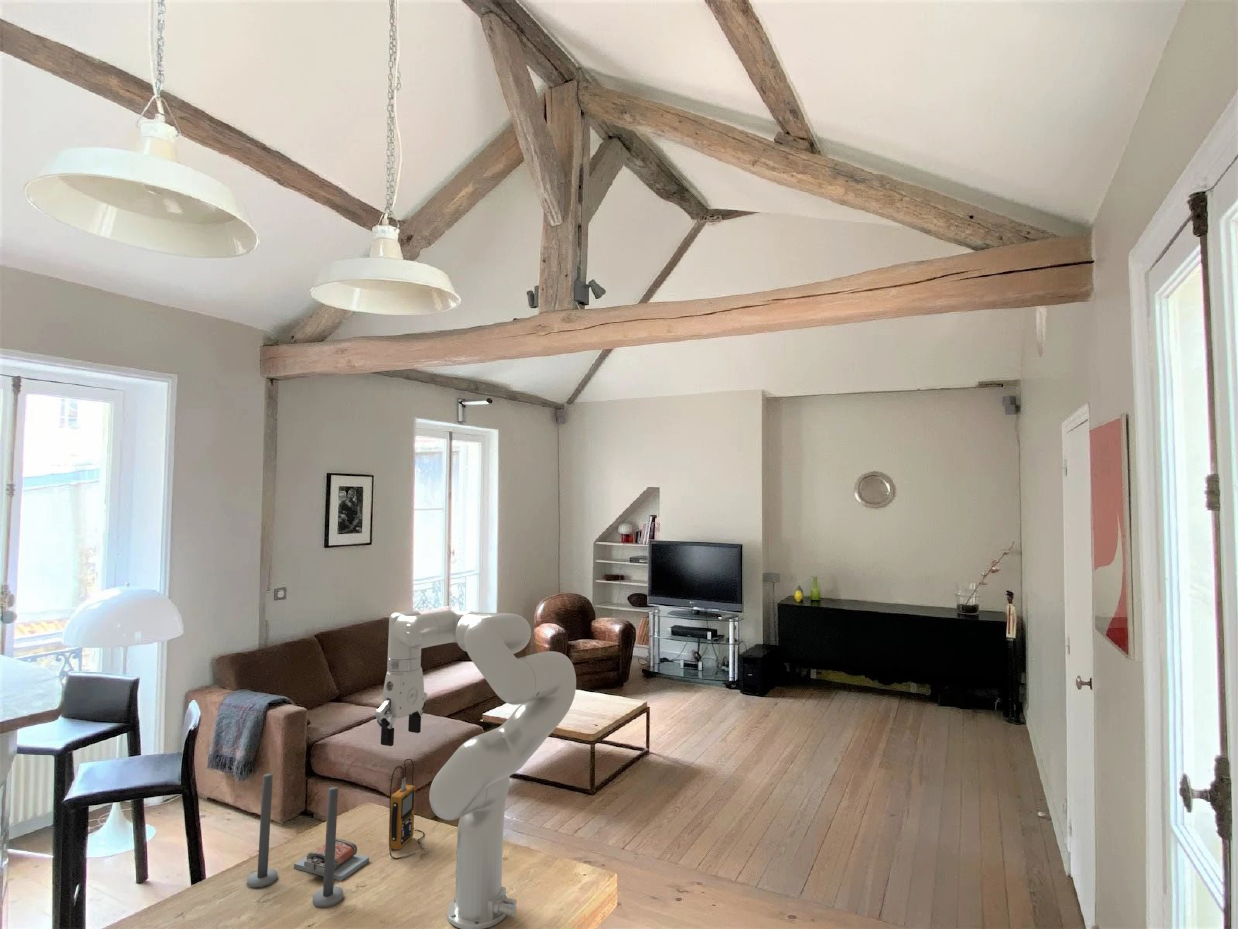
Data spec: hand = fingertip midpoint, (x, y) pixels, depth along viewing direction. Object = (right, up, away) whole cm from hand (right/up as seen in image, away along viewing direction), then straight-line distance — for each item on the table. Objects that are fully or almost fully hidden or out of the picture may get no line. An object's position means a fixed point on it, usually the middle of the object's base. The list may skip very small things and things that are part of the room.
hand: (401, 738), depth 155 cm
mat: (-17, -30, +1) cm, 34 cm away
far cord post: (-29, -29, -6) cm, 42 cm away
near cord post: (-11, -29, -13) cm, 34 cm away
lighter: (-15, -28, +4) cm, 32 cm away
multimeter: (0, -31, +10) cm, 33 cm away
